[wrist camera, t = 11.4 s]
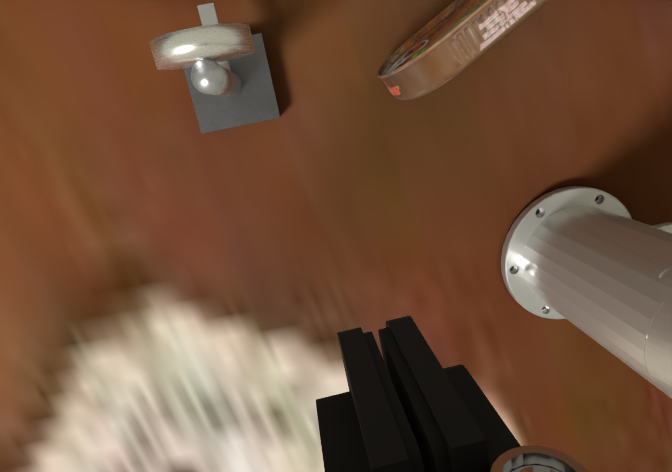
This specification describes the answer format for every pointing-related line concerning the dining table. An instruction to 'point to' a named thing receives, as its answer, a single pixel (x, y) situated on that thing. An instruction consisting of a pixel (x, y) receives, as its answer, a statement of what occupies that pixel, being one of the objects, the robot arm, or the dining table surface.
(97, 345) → the dining table surface
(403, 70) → the tin
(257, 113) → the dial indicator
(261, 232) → the dining table surface
